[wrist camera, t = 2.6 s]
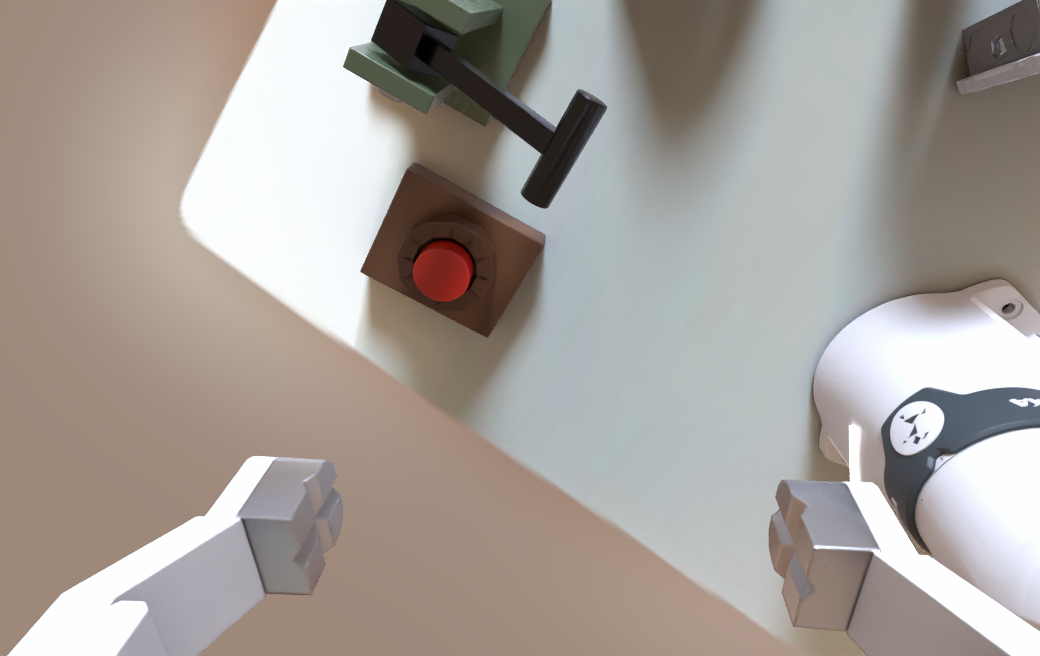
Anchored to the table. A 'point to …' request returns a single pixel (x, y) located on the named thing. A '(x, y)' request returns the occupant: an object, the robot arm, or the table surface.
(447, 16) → the bracket
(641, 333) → the table surface
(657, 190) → the table surface
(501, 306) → the button block
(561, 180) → the lever
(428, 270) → the button
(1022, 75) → the electrical switch
